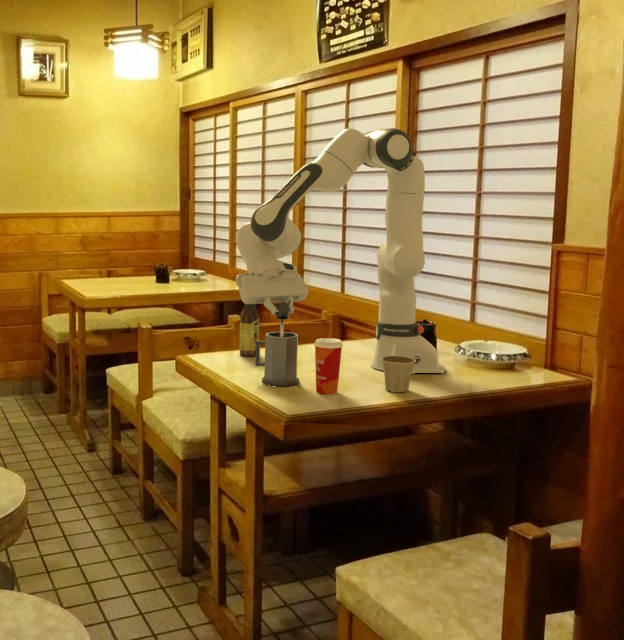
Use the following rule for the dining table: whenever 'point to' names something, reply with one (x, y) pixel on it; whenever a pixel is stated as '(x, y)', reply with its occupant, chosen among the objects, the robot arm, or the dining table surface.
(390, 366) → the flower pot
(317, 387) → the paper cup
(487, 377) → the dining table surface
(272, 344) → the press pot
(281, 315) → the plunger
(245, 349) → the sauce bottle
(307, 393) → the dining table surface
